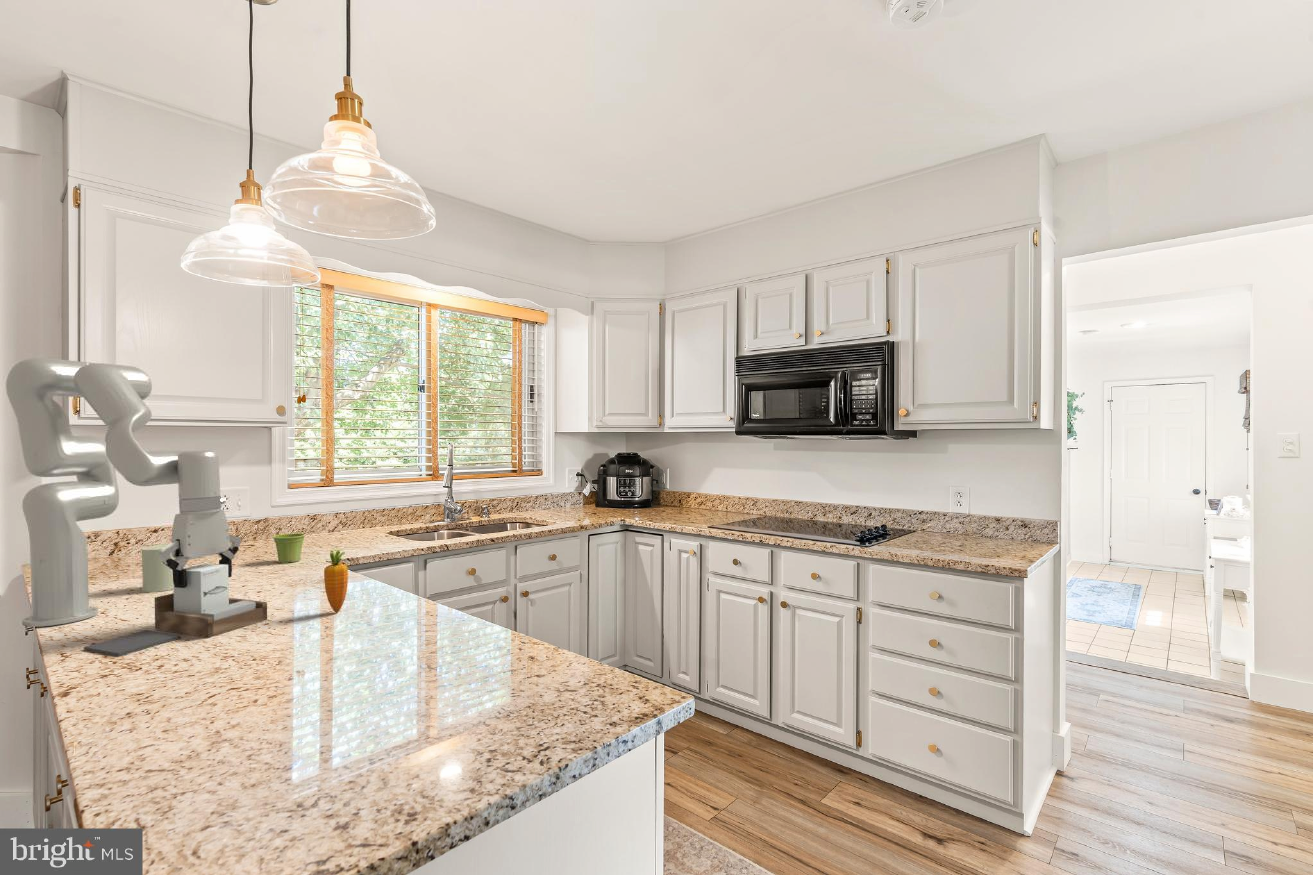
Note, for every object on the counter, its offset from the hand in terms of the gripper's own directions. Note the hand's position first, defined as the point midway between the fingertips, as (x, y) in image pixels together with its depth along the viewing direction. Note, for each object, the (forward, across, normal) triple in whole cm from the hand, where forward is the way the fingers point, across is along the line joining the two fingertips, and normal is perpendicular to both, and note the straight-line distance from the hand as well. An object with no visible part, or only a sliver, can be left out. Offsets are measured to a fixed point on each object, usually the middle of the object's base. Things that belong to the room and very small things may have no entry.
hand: (203, 582), depth 139 cm
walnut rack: (+9, 0, +2) cm, 10 cm away
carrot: (+10, -15, +22) cm, 29 cm away
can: (+8, -18, -45) cm, 49 cm away
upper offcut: (+7, 0, +8) cm, 11 cm away
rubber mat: (+9, +14, 0) cm, 17 cm away
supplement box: (+10, 0, -1) cm, 10 cm away
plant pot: (+9, -55, -43) cm, 71 cm away
